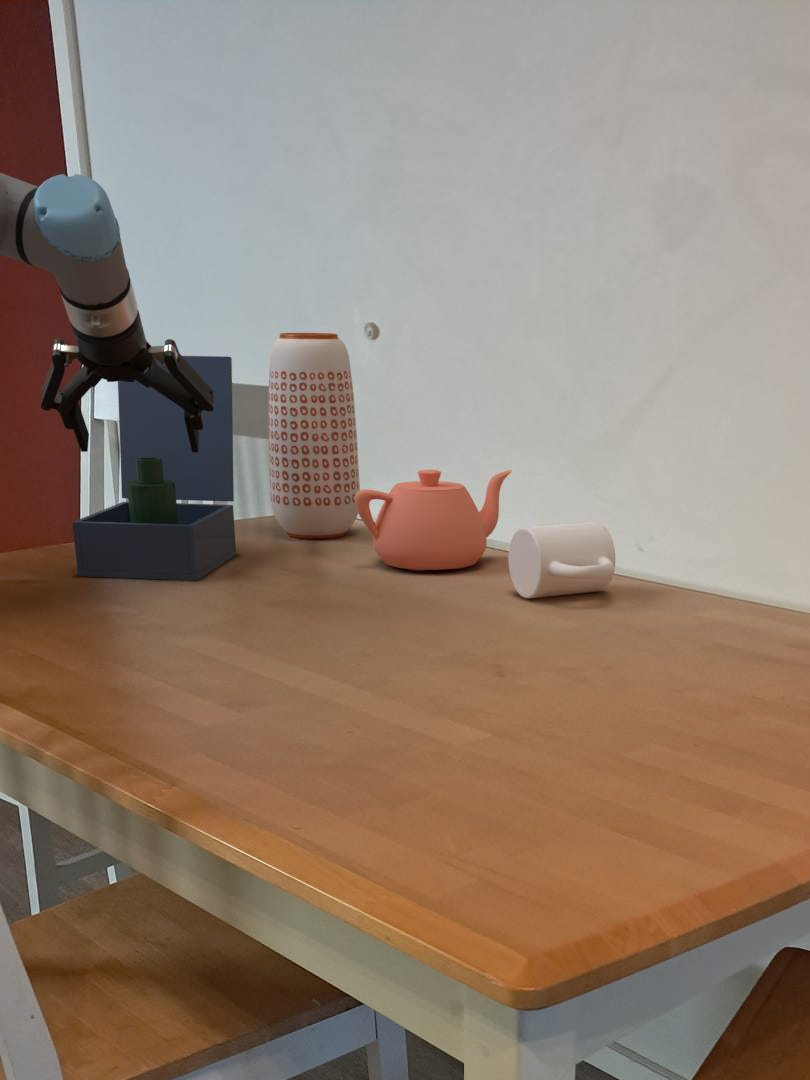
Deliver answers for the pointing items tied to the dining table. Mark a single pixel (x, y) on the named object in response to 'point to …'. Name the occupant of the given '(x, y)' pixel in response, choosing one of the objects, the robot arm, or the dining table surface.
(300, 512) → the white patterned vase
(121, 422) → the chest lid
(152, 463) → the bottle
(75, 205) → the robot arm
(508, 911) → the dining table surface
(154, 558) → the chest
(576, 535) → the mug
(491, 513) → the teapot
